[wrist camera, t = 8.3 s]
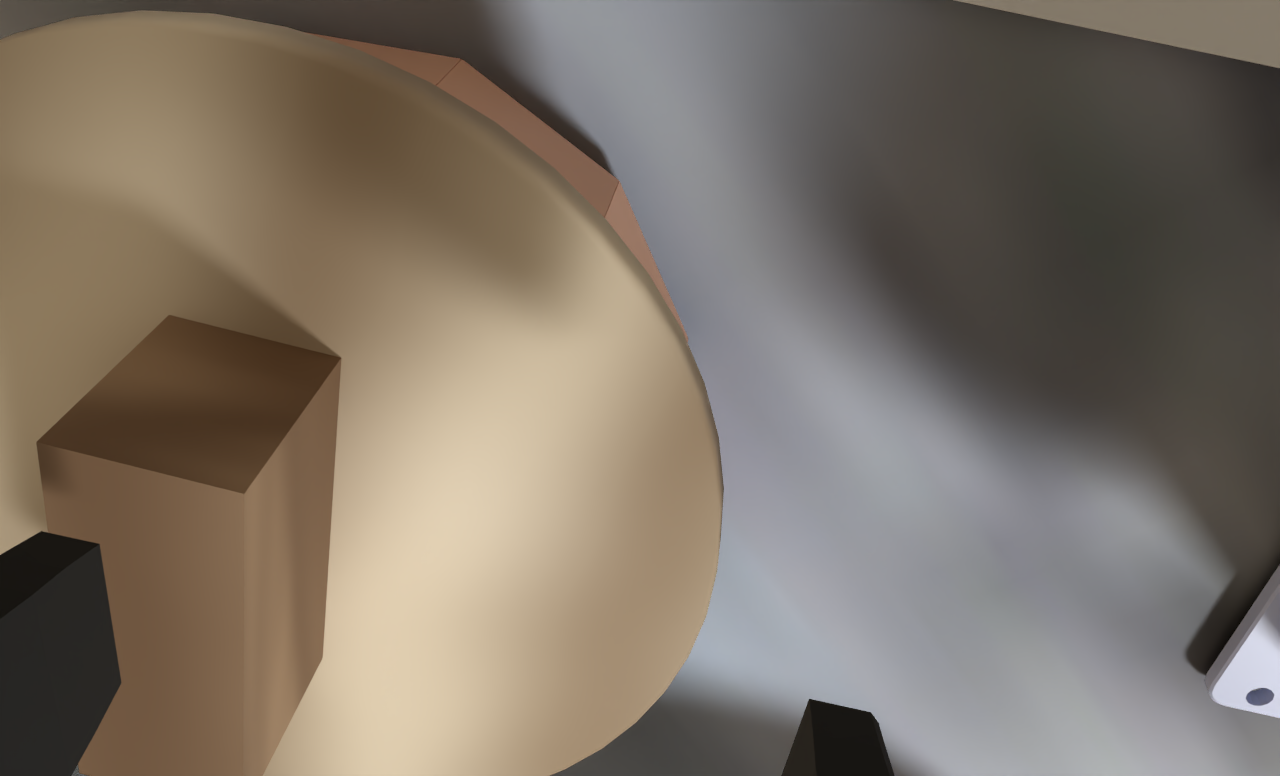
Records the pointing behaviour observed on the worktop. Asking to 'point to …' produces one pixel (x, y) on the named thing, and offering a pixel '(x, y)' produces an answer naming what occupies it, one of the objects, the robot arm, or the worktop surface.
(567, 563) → the lid
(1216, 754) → the worktop surface
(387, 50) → the bowl
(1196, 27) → the mat
